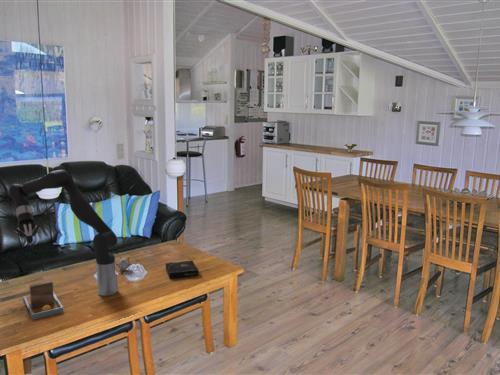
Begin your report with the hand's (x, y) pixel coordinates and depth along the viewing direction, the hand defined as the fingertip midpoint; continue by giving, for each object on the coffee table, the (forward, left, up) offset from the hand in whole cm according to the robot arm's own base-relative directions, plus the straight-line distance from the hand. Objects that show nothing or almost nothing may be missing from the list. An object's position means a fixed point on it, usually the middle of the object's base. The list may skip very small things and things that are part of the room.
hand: (30, 243), depth 234 cm
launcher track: (-14, +14, -26) cm, 32 cm away
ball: (-24, +24, -24) cm, 41 cm away
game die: (-36, -33, -26) cm, 55 cm away
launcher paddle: (-17, +17, -26) cm, 35 cm away
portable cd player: (-70, -38, -26) cm, 84 cm away
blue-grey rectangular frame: (-22, +22, -26) cm, 41 cm away
